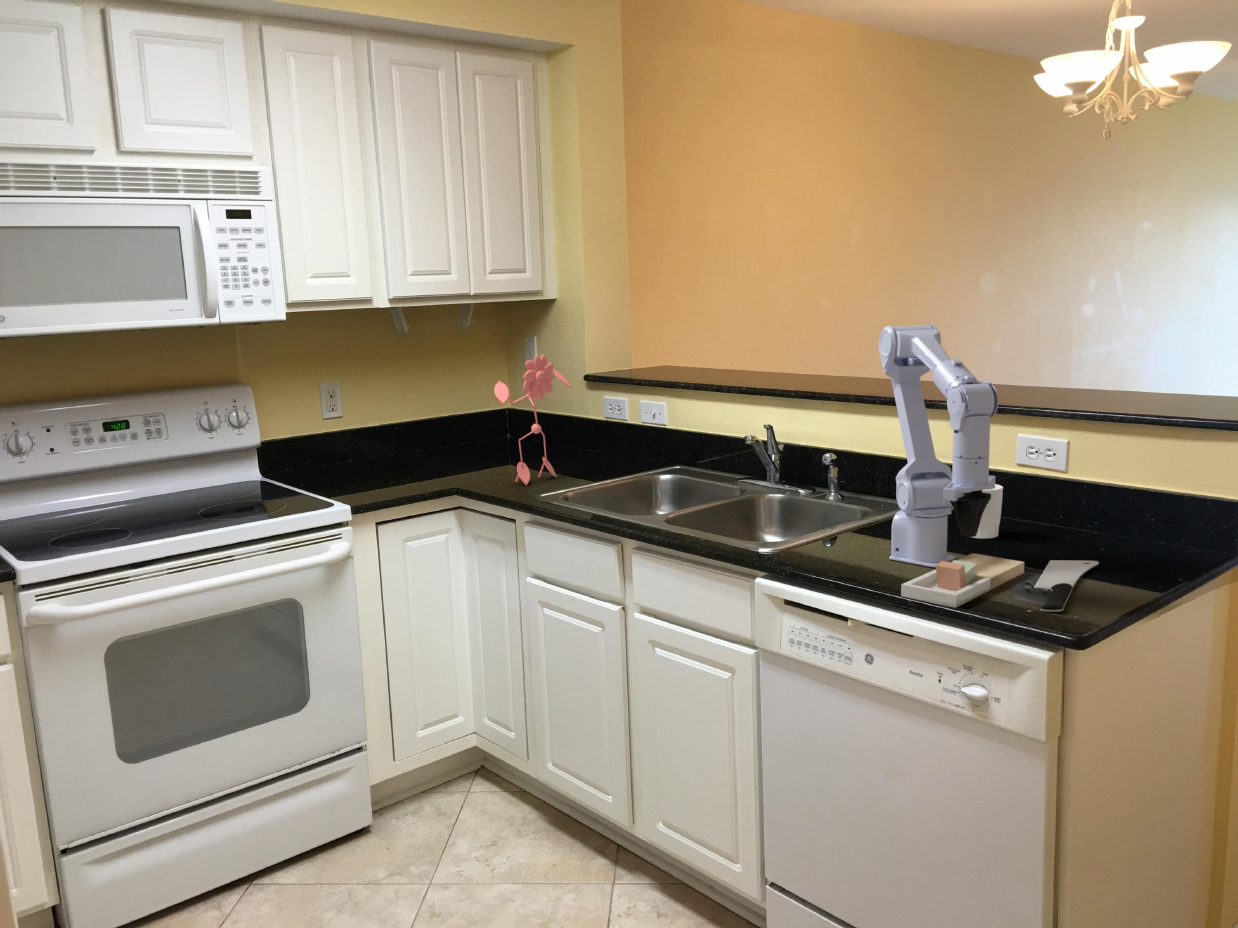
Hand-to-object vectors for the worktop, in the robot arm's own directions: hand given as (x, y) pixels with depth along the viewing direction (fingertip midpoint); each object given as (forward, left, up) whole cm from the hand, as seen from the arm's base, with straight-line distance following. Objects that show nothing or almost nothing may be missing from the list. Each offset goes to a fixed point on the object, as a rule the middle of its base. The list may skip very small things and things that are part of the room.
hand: (968, 535), depth 167 cm
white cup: (-13, +33, -9) cm, 37 cm away
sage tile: (0, -3, -7) cm, 7 cm away
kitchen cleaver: (+11, +8, -9) cm, 17 cm away
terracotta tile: (0, -5, -6) cm, 7 cm away
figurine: (-130, +17, -9) cm, 132 cm away
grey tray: (0, -7, -8) cm, 11 cm away
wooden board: (0, +5, -8) cm, 10 cm away
